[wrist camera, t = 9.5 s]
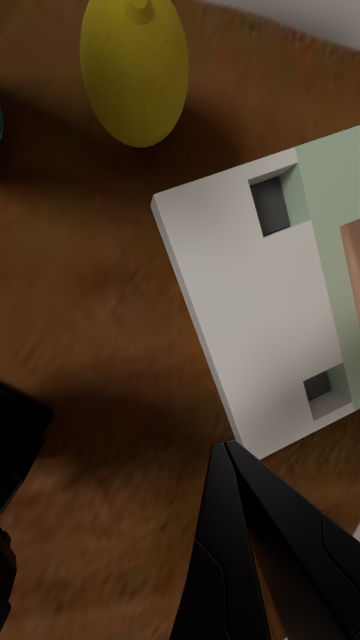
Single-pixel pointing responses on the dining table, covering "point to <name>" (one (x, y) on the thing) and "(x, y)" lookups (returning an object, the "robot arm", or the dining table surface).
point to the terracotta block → (353, 257)
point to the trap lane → (272, 286)
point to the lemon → (134, 67)
